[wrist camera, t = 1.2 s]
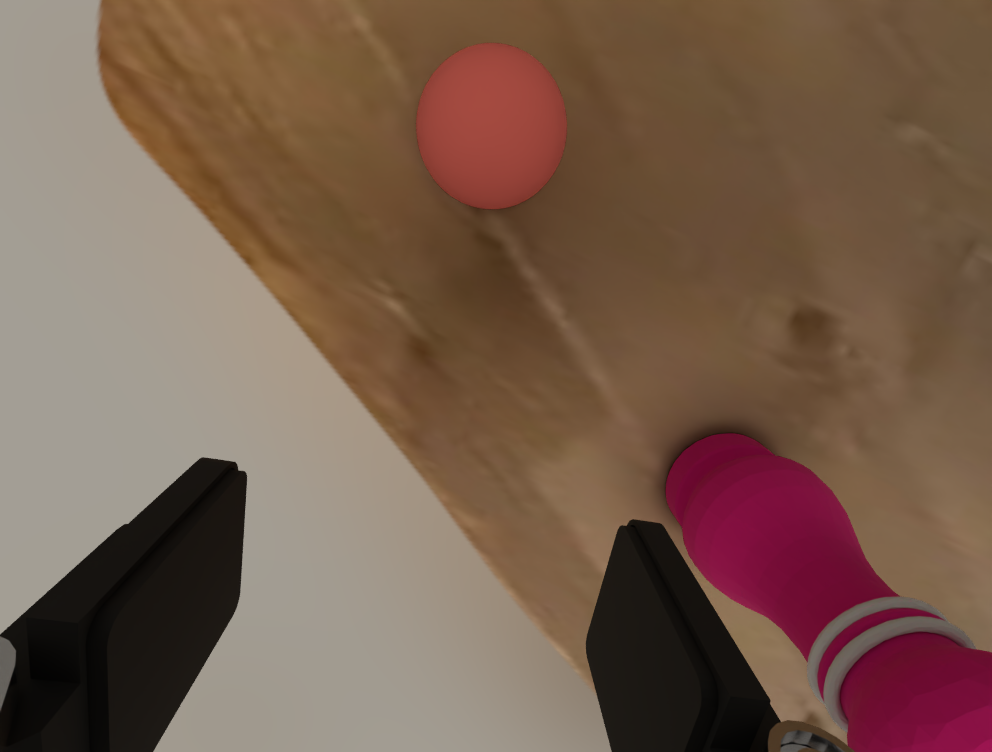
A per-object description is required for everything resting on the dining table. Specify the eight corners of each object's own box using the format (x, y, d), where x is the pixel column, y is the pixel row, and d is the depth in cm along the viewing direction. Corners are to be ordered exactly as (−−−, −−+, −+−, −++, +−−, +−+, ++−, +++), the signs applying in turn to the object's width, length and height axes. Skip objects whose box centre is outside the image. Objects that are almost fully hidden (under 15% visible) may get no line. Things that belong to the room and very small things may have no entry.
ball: (567, 82, 24) (598, 41, 18) (539, 220, 25) (559, 223, 20) (433, 52, 23) (421, -1, 17) (414, 195, 25) (397, 190, 19)
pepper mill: (631, 509, 30) (907, 1019, 11) (701, 402, 29) (1168, 789, 9) (735, 555, 32) (1141, 1084, 12) (807, 455, 30) (1411, 892, 11)
